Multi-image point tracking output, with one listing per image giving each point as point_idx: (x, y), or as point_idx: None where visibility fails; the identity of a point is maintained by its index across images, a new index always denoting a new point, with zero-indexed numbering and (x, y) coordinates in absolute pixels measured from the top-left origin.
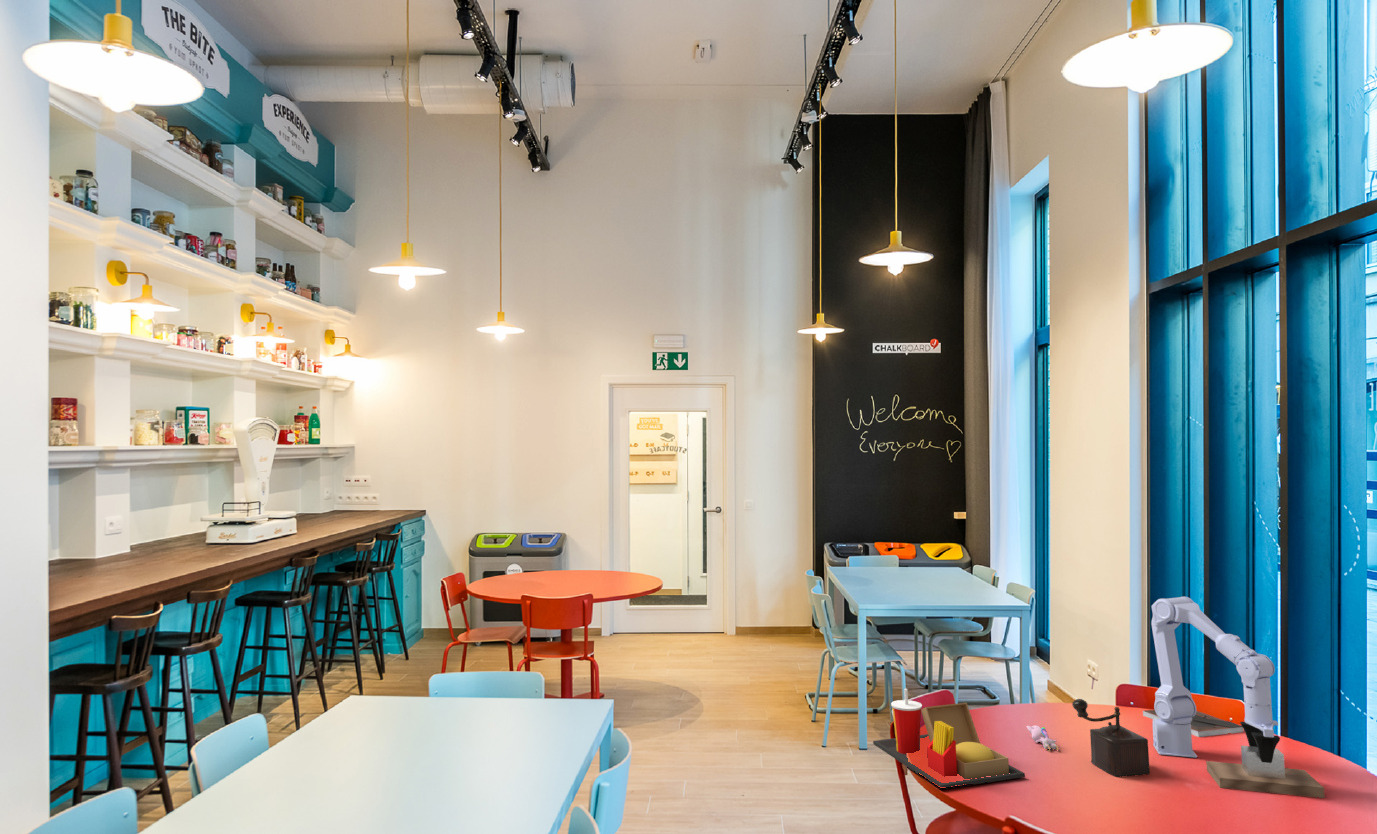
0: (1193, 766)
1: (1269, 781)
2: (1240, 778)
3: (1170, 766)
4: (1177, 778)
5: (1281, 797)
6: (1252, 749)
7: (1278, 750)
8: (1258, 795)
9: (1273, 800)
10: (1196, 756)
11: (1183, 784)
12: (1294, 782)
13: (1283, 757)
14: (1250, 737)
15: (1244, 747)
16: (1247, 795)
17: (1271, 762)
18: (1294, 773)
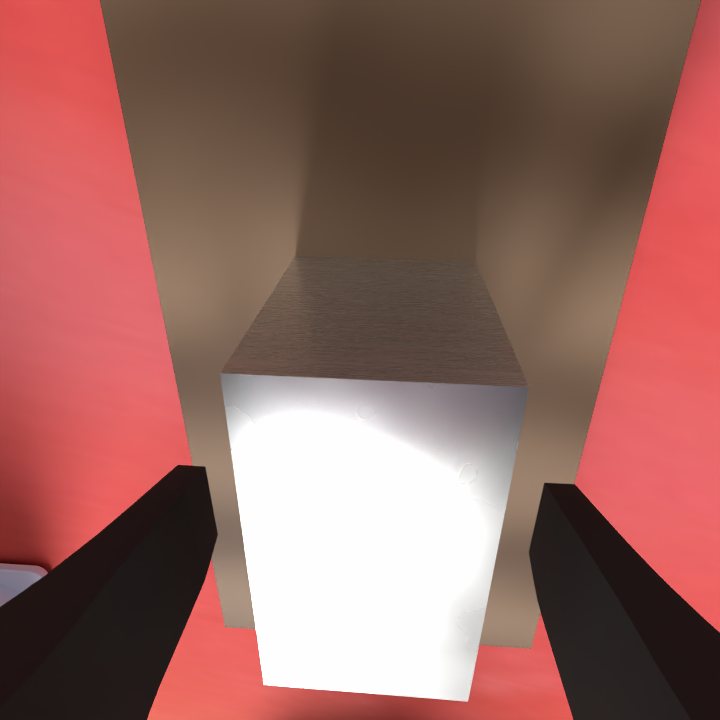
0: (202, 607)
1: (565, 410)
2: (526, 560)
3: (251, 682)
4: (419, 698)
5: (655, 331)
6: (380, 641)
7: (316, 387)
8: (624, 455)
9: (715, 401)
10: (42, 575)
11: (498, 698)
12: (566, 208)
13: (521, 369)
14: (141, 699)
15: (329, 679)
16: (628, 509)
17: (573, 484)
18: (273, 102)
